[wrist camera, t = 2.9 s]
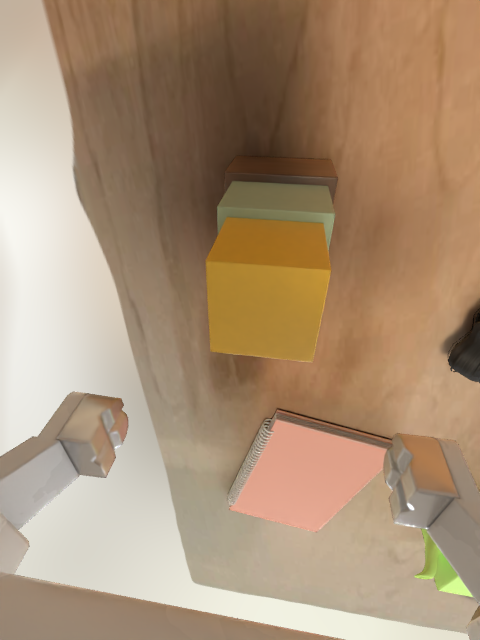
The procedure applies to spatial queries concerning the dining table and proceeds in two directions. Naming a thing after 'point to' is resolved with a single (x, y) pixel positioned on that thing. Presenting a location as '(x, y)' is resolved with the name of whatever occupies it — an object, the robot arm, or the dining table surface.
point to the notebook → (305, 470)
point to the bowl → (476, 614)
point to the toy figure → (468, 354)
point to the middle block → (278, 203)
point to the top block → (267, 288)
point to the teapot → (440, 569)
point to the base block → (282, 171)
